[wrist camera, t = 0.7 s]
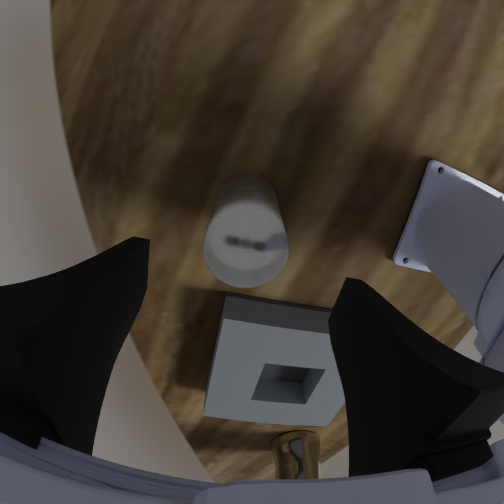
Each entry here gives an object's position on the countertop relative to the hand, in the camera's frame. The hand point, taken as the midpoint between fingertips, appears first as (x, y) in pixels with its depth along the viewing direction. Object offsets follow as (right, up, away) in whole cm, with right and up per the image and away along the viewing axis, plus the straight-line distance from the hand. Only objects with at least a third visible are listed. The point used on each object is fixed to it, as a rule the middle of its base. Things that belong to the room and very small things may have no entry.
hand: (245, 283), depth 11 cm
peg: (0, +4, +8) cm, 9 cm away
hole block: (+3, -8, +15) cm, 17 cm away
